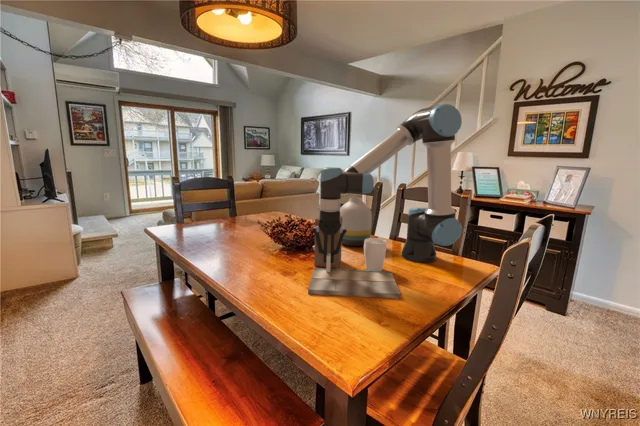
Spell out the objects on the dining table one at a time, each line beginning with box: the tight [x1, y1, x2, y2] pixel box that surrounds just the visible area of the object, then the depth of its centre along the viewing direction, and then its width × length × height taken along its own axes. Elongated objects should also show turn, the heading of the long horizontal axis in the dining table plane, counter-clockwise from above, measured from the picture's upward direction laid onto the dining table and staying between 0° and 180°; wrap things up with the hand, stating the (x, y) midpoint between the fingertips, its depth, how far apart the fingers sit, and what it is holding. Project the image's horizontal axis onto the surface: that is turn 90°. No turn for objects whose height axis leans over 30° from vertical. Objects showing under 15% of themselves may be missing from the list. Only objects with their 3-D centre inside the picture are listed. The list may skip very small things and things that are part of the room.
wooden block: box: [313, 214, 343, 269], centre depth 129 cm, size 10×10×20 cm
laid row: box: [307, 278, 401, 299], centre depth 105 cm, size 30×9×2 cm, turn 85°
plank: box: [310, 267, 396, 283], centre depth 114 cm, size 30×9×2 cm, turn 85°
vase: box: [339, 197, 373, 247], centre depth 158 cm, size 17×17×24 cm
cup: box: [363, 237, 387, 271], centre depth 124 cm, size 9×9×12 cm
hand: (328, 270), depth 116 cm, fingers closed
